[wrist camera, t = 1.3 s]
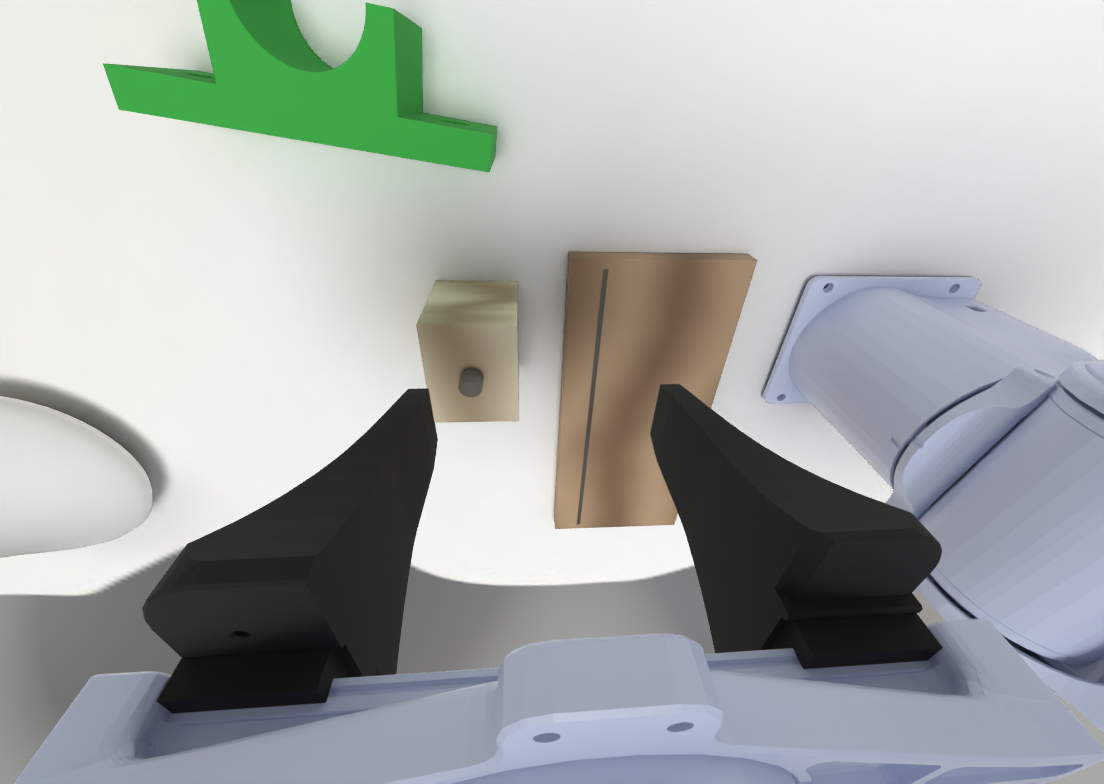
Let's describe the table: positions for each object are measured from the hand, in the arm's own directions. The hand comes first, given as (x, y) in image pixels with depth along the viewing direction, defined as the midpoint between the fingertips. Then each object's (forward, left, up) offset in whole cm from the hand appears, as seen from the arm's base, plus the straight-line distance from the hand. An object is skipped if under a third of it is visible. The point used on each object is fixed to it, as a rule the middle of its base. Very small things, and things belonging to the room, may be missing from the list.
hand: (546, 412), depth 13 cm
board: (-6, +8, -10) cm, 14 cm away
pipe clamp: (+7, -8, -10) cm, 15 cm away
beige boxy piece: (+3, +2, -10) cm, 11 cm away
